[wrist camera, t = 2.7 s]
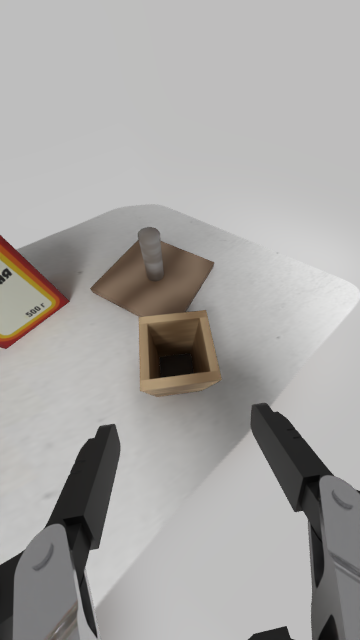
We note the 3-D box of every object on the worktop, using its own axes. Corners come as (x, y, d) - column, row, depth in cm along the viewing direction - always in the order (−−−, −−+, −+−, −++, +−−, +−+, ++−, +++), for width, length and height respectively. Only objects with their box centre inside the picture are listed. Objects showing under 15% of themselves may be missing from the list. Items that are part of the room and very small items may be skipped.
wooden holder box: (157, 396, 19) (140, 390, 10) (154, 353, 22) (138, 317, 13) (201, 390, 20) (221, 379, 11) (194, 348, 22) (205, 310, 13)
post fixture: (93, 292, 26) (60, 249, 19) (144, 239, 31) (135, 190, 24) (172, 333, 23) (169, 301, 16) (213, 266, 28) (225, 221, 21)
